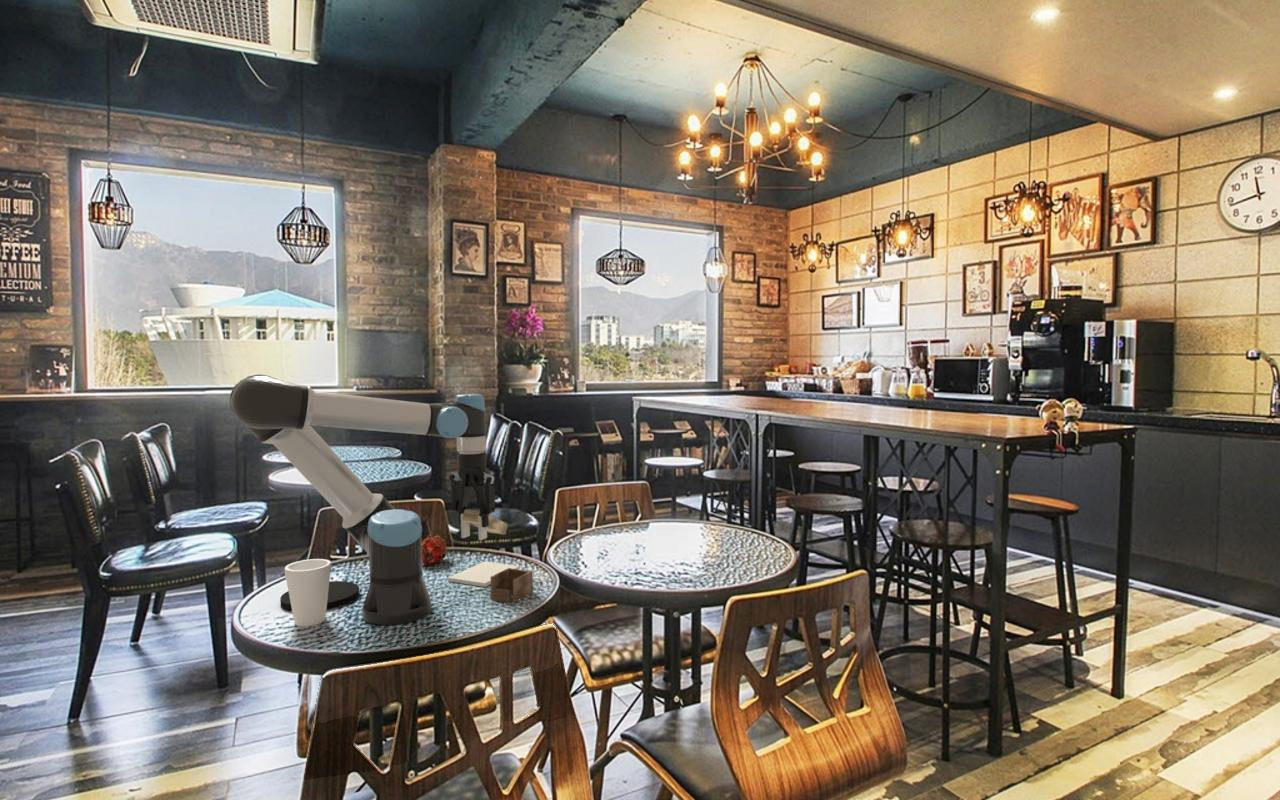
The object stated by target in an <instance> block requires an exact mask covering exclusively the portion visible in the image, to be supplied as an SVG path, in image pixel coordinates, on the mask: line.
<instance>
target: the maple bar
mask: <svg viewBox="0 0 1280 800" xmlns="http://www.w3.org/2000/svg"><path fill="white" fill-rule="evenodd" d="M479 514H480V510H475V509H468V510H466V509H465V511H464V515H463V518H462V521H465V522H467V523H469V524H470V525H471V526H475V527H476V528H478V516H479ZM508 526H509V524H508V523H506V522H505V521H502V520H500V519H498V518H496V517H494V516H492V515H490V514H489V526H488V527H487V533H490V534H494V535H495V534H496V535H497V534H498V535H506V534H507V531H508V530H507V529H508Z"/></svg>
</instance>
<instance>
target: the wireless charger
mask: <svg viewBox="0 0 1280 800" xmlns="http://www.w3.org/2000/svg"><path fill="white" fill-rule="evenodd" d="M359 596H360V586H359V585H358V584H356V583H355V582H351V581H344V580H343V581H342V580H341V581H339V580H333V581H332V580H331V581H329V590H328V600H327V609H326V611H327V610H328V611H329V610H332V609H336V608H340V607H343V606H346V605H348V604H350V603H353V602H354V601H356V600H357V599H358V598H359ZM279 599H280V608H281V609H282V610H284V611H287V612H291V613H292V607H291V602H290V597H289V591H288V590H287V591H286V592H284V593H283V594H282V595H281V596H280V598H279Z"/></svg>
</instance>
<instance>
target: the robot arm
mask: <svg viewBox="0 0 1280 800" xmlns="http://www.w3.org/2000/svg"><path fill="white" fill-rule="evenodd" d="M229 407H230V411H231V412H232V414H233V416H235V418H236V419H237V420H239V422H241V423H242V424H243V425H244V426H245V427H246V428H247V429H248V430H249V431H250V432H251V433H252V434H253V435H254V436H255V438H257V439H258V440H259V442H260V443H262V444H269V445H270V444H271V445H273V446H274V447H276V449H277V450H278V451H279V452H280V453H281V454H282V456H284V457H285V458H286V459H287V460H288V462H290V463H291V465H292V466H294V468H295V469H296V470H297V471H298V472H299V473H300V474H301V475H302V476H303V477H304V478H305V479H306V481H308V482H309V483H310V484H311V486H313V487H314V489H315V490H316V491H317V492H318V493H319V494H320V495H321V496H322V497H323V498H324V499H325V501H327V503H329V505H331V506H332V508H333V509H334V510H335V511H336V512H337V513H338V514H339V515H340V516H341V517H342V525H341V527H342V528H343V529H344V530H345V531H346V532H347V533H348V535H350V537H352V538H353V539H354V540H355V542H356V543H357V544H358V545H359V547H360V548H361V549H363V550H364V551H365V552H366V553H367V555H368V557H369V559H368V561H369V562H368V564H369V586H368V590H367V593H366V595H365V600H364V602H363V606H362V618H363V621H365V622H366V623H368V624H373V625H381V626H386V625H387V626H389V625H400V624H404V623H409V622H410V623H411V622H413V621H417V620H419V619H422V618H424V617H426V616H427V615H428V614H430V612H431V611H432V599H431V596H430V594H429V591H428V588H427V586H426V583H425V580H424V575H423V562H422V540H423V539H422V536H423V535H422V533H423V526H422V522H421V521H422V520H421V517H420V516H419V514H418V513H416V512H414V511H412V510H407V509H400V508H399V509H398V508H397V509H396V508H395V507H394V506H393V505H392V504H391V503H390V502H389V501H388V500H387V499H386V498H385V496H384V495H383V494H382V493H372V491H371V490H369V489H368V487H367V486H366V485H365V484H364V482H363V481H362V480H360V478H359V477H358V476H357V475H356V474H355V473H354V472H353V470H352V469H351V468H350V467H349V466H348V465H347V464H346V463H345V462H344V461H343V459H342V458H340V457H339V455H338V454H337V453H336V452H335V451H334V450H333V449H332V448H331V447H330V445H329V444H327V442H326V441H325V440H324V439H323V438H322V436H320V434H319V433H318V432H317V431H316V430H315V429H314V428H313V427H312V426H314V427H325V428H326V427H327V428H337V429H338V428H340V429H351V430H363V431H364V430H365V431H373V432H374V431H376V432H386V433H387V432H388V433H396V434H397V433H399V434H412V435H424V436H432V437H444V438H445V439H456V451H457V452H458V453H457V455H456V457H457V460H456V461H457V467H458V471H457V472H456V473H452V474H449V478H450V483H451V509H452V511H454V512H455V511H456V512H457V514H458V524H459V526H460V535H461V536H460V538H461V539H465V538H467V537H470V536H471V530H470V529H471V524H469V523H467V522H465V521H462V518H463V515H464V511H465V509H466V510H469V509H468V505H469V502H470V501H469V499H470V493H471V490H472V489H473V491H474V492H475V496H476V501H477V502H476V503H477V504H478V505H477V506H478V508H479V510H478V511H480V514H479V516H478V527H477V530H478V535H477V536H478V540H479V541H482V540H483V541H484V540H485V539H488V532H487V527H488V526H489V515H490V514H492V513H495V511H496V501H495V500H496V498H495V497H496V495H495V482H496V475H491V474H488V473H487V469H486V467H487V453H486V452H485V451H486V450H487V443H486V442H487V440H486V403H485V397H484V396H483V395H482V394H480V393H479V394H478V393H466V394H457V395H455V400H454V401H452V402H443V403H442V402H440V403H439V402H438V403H437V402H436V403H425V402H417V401H416V402H415V401H409V400H408V401H407V400H397V399H391V398H390V399H389V398H388V399H387V398H382V397H381V398H379V397H371V396H370V397H369V396H363V395H354V394H345V393H334V392H326V391H317V390H314V389H312V387H311V386H310V385H304V384H298V383H292V382H289V381H284V380H281V379H278V378H275V377H272V376H271V375H267V374H253V375H249V376H247V377H245V378H243V379H241V380H240V381H238V382H237V383H236V384H235V385H234V387H233V388H232V389H231V391H230V395H229Z"/></svg>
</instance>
